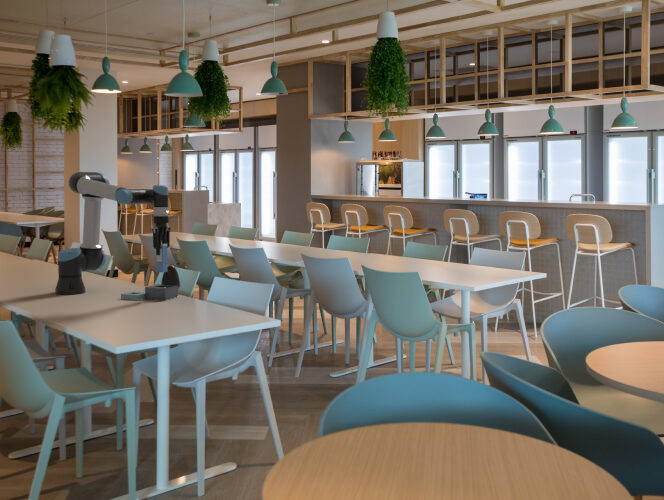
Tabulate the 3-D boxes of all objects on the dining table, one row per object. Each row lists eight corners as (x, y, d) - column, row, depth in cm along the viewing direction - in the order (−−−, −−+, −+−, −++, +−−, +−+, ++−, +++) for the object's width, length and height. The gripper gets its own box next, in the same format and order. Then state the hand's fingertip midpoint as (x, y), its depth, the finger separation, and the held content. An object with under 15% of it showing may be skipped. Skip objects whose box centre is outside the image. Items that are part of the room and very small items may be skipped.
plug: (156, 272, 354) (155, 244, 353) (160, 271, 358) (160, 243, 357) (163, 272, 353) (162, 244, 352) (167, 271, 357) (167, 243, 356)
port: (145, 298, 353) (144, 286, 353) (158, 295, 365) (158, 283, 364) (165, 300, 349) (165, 287, 349) (178, 296, 361) (178, 284, 360)
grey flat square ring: (120, 298, 352) (120, 294, 352) (132, 296, 361) (132, 291, 361) (137, 300, 349) (137, 295, 349) (149, 297, 358) (148, 292, 358)
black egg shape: (183, 292, 377) (182, 264, 376) (176, 295, 367) (176, 266, 365) (164, 291, 378) (164, 264, 377) (158, 294, 368) (158, 266, 366)
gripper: (158, 216, 344) (158, 262, 346) (176, 215, 360) (177, 259, 362) (145, 216, 346) (145, 262, 348) (164, 214, 362) (164, 259, 364)
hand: (161, 260), depth 355 cm, fingers closed on plug, 4 cm apart
